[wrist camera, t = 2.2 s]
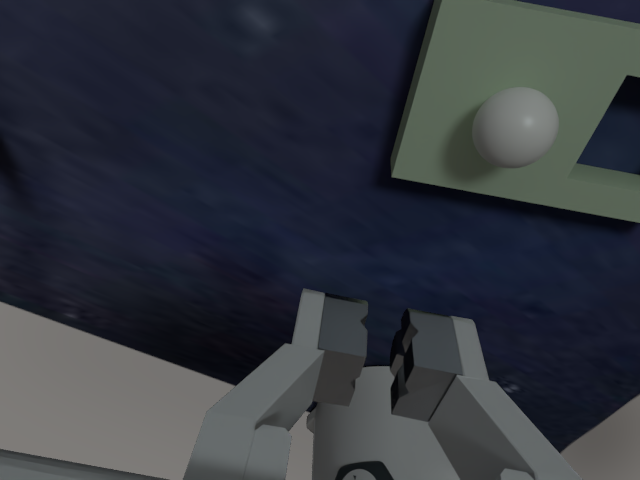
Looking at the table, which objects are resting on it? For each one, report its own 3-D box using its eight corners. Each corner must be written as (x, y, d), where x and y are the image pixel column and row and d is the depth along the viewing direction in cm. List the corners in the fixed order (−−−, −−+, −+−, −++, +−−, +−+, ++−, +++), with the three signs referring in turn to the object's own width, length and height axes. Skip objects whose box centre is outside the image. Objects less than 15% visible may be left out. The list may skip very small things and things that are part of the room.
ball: (551, 130, 23) (578, 163, 20) (477, 158, 25) (492, 194, 22) (534, 62, 21) (562, 87, 18) (456, 97, 23) (469, 126, 20)
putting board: (777, 49, 22) (817, 62, 20) (656, 207, 28) (677, 229, 26) (438, -14, 22) (444, -7, 20) (390, 158, 28) (391, 177, 26)
